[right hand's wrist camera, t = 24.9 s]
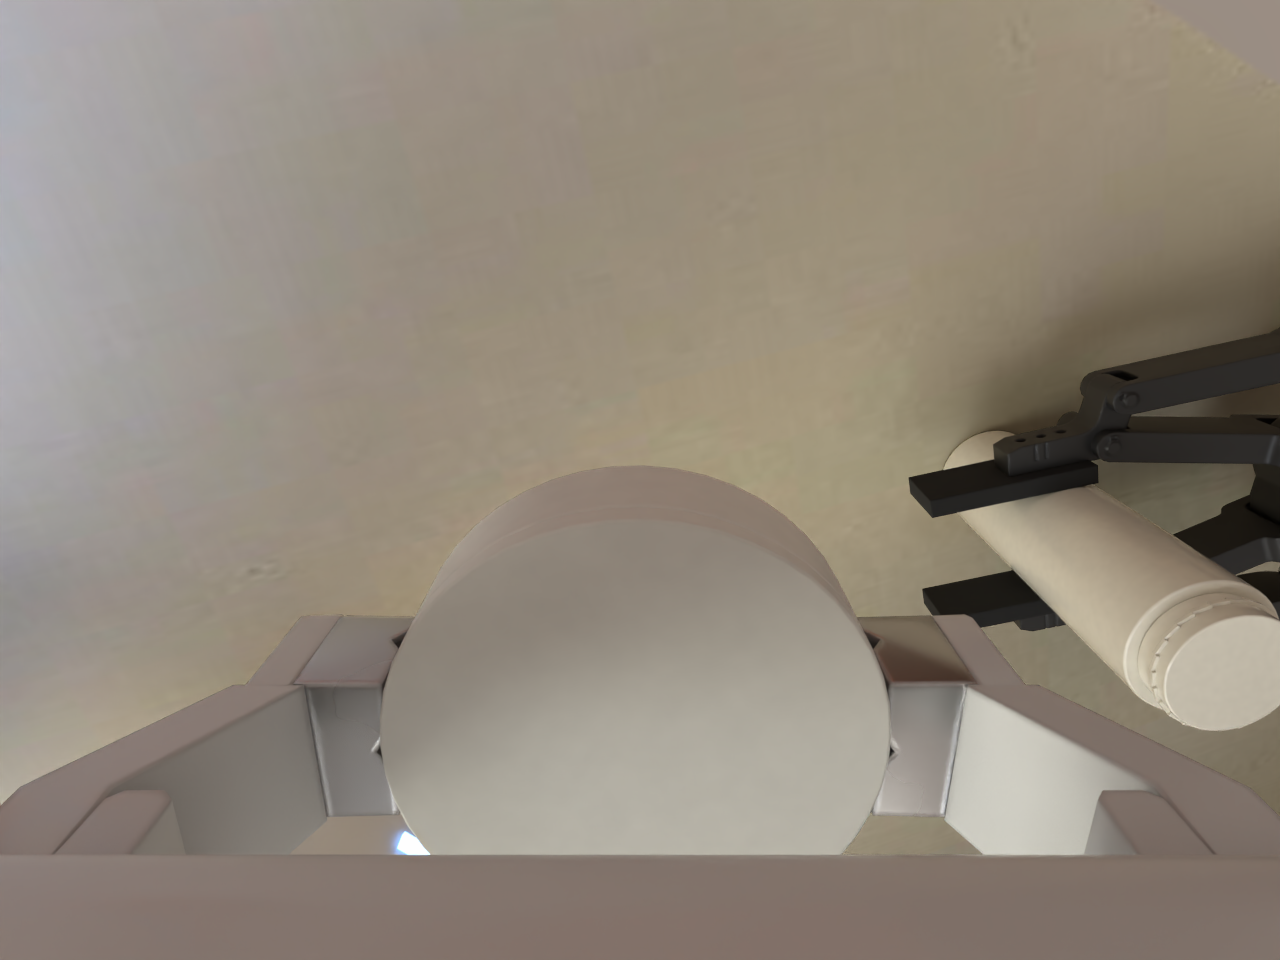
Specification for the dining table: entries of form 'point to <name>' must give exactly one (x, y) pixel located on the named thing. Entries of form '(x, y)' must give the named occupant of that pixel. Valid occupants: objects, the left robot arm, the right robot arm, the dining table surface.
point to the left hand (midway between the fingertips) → (928, 555)
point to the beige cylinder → (1139, 599)
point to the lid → (635, 681)
